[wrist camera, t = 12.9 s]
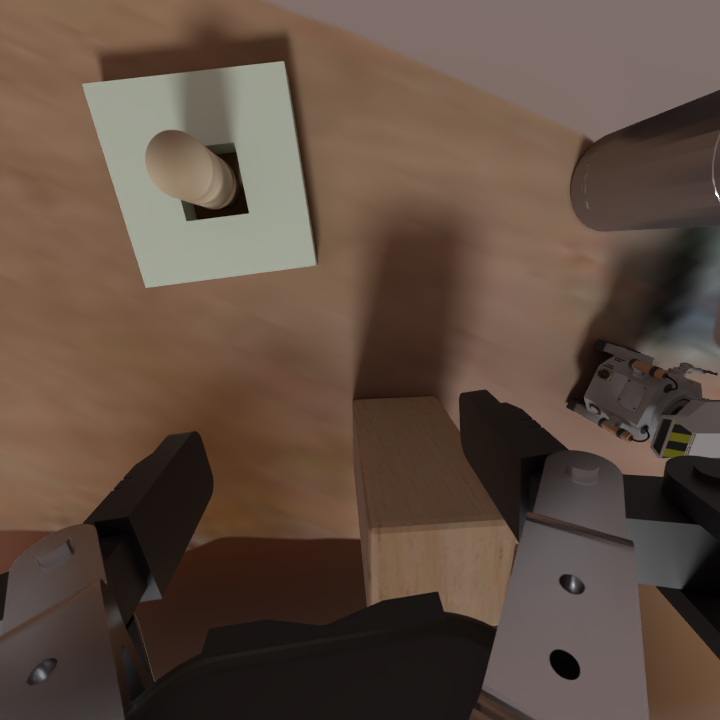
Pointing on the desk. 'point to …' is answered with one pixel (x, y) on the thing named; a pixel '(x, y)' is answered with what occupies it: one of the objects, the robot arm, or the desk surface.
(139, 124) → the seat board
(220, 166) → the peg
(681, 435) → the figurine
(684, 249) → the desk surface
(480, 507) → the wooden block
